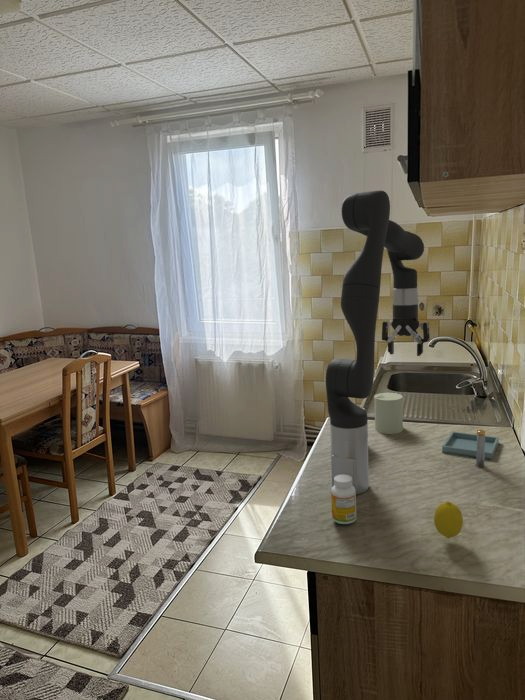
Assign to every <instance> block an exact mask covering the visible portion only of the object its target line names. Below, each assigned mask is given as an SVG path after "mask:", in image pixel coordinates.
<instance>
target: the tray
mask: <svg viewBox="0 0 525 700" xmlns="http://www.w3.org/2000/svg"><path fill="white" fill-rule="evenodd" d="M499 440H500V437H497V436H490V435H485V460H487V461H488V460H489V461H492V460H493V458H494V455H495V454H496V451H497V448H498V446H499V444H500V443H499V442H500V441H499ZM441 448H442V449H441V450H442V451H441V452H442V453H443V454H450V455H456V456H463V457H468V458H475V459H476V455H477V434H474V433H466V432H460V431H459V432H458V431H451V433H450V434H449V436H448V437H447V438H446V440H445V441H444V443H443V445H442V447H441Z"/></svg>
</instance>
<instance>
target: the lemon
mask: <svg viewBox="0 0 525 700" xmlns="http://www.w3.org/2000/svg"><path fill="white" fill-rule="evenodd" d="M463 519H464V518H463V513H462V512H461V509H460V507H458V505H456V504H455V503H453V502H451V501H445V502H441V503H440V504H438V505H437V507H436V508H435V510H434V516H433V522H434V527H435V530H436V531H437V532H438V533H439V534H440V535H441V536H443V537H445V538H446V539H450V538H454V537H456V536H458V535H459V533H461V531H462V528H463V526H464V521H463Z"/></svg>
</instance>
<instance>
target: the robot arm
mask: <svg viewBox="0 0 525 700" xmlns="http://www.w3.org/2000/svg"><path fill="white" fill-rule="evenodd" d="M390 215H391V201H390V197H389V195H388V193H387V192H386V191H384V190H373V191H372V190H371V191H363V192H355V193H352V194H349V195H347V196H346V197H345V198H344V199H343V201H342V204H341V219H342V222H343V224H344V225H345V226H346V228H347V229H349V230H351V231H353V232H356V233H358V234H361V235H363V236H366V241H365V243H364V245H363V247H362V249H361V251H360V253H359V255H358V256H357V257H356V258H355V260H354V262H353V263H352V264H351V265H350V267H349V268H348V270H347V271H346V273H345V275H344V277H343V281H342V285H341V288H342V289H341V294H340V295H341V296H340V308H341V312H342V313H343V316H344V318H345V320H346V321H347V324H348V326H349V328H350V331H351V332H352V335H353V337H354V341H355V346H356V359H345V358H334V359H331V361H329V363H328V365H327V367H326V371H325V391H326V401H327V412H328V413H327V414H328V416H329V420H330V421H329V423H330V428H329V429H330V453H331V456H330V457H331V458H330V459H331V462H330V463H331V464H330V465H331V466H330V467H331V488H332V487H333V486H334V477H335V476H337V475H349V476H351V477H352V486H354V488H355V490H356V496H357V495H361V494H363V493H365V492H367V491H368V490H369V487H370V486H369V485H370V483H369V481H370V480H369V479H370V478H369V477H370V476H369V474H370V473H369V440H368V439H369V438H368V437H369V434H368V433H369V431H368V430H369V429H368V428H369V427H368V423H369V422H368V420H369V419H368V413H367V410H366V409H365V410H364V409H362V408H363V407H360V406H359V405H357V404H356V403H355V402H354V401H352V400H351V399H350V398H352V399H367V398H368V397H369V396H370V395H371V393H372V389H373V385H374V377H375V346H376V345H375V341H376V340H375V339H376V328H377V318H378V310H379V304H380V292H381V283H382V282H381V279H382V268H383V267H382V266H383V257H384V250H385V249H386V250H387V251H386V252H387V256H388V259H389V262H390V266H391V271H392V275H393V277H392V278H393V280H392V281H393V284H392V285H393V291H392V321H389V320H385V321H383V322H382V324H381V325H382V326H381V329H382V330H381V340H382V341H385V342H387V352H388V353H389V355H393V354H395V349H394V348H395V347H394V346H395V343H394V340H396V338H397V336H399V337H403V336H406V337H412V338H413V340H415V341H416V342H417V344H416V356H417V357H420V356H422V354H423V353H424V344H425V343H428V342H429V341H430V323H429V322H428V321H424V322H420V321H419V292H418V271H417V270H416V269H415V268H411V267H408V266H407V267H406V266H405V265H404V264H403V261H415V260H418V259H420V258H421V257H422V256H423V255H424V252H425V245H424V241H423V239H422V238H421V237H420V236H419V235H418V234H416V233H414V232H411V231H407V230H405V229H404V228H403V227H402V226H401V225H400V224H398V223H397V222H395V221H393V220H390ZM391 327H392V329H393V330H394V331H392V333H391V334H390V336H389V329H390V328H391ZM419 327H420V329H421V330H422V332H423V335H422V336H423V337H422V336H421V334H420V332H419V331H418V328H419Z"/></svg>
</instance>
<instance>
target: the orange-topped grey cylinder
mask: <svg viewBox="0 0 525 700" xmlns="http://www.w3.org/2000/svg"><path fill="white" fill-rule="evenodd" d="M476 435H477V455H476V458H475V459H476V462H475V463H476V465H475V466H476V467H477V468H479V469H483V468H485V460H486V459H485V436H486V430H484V429H477V430H476Z"/></svg>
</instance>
